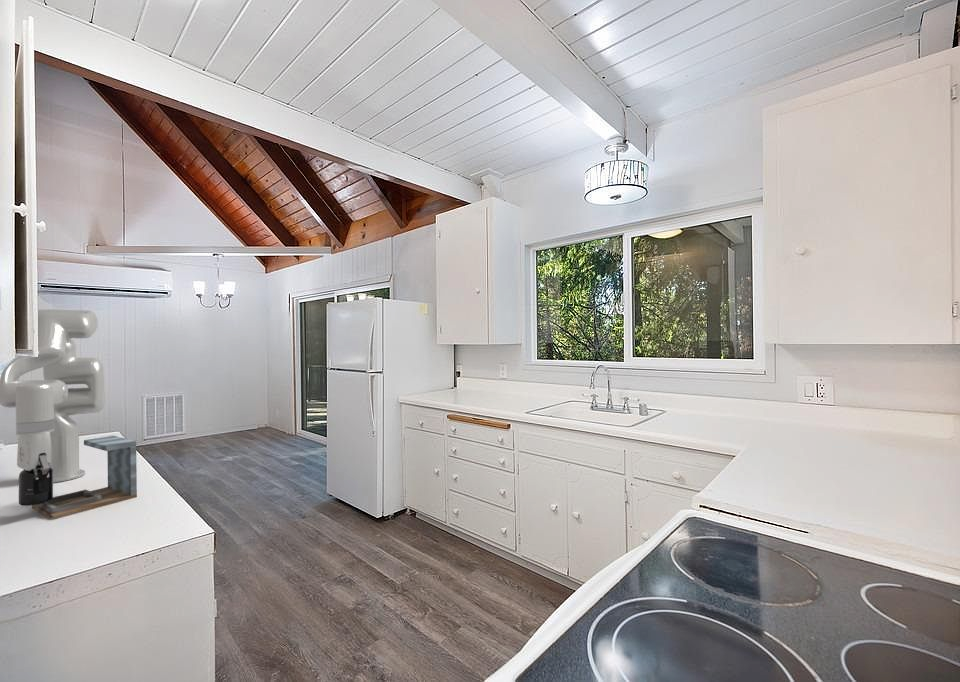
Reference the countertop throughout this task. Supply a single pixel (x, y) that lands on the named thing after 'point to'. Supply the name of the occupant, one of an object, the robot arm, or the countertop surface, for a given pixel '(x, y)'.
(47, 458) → the robot arm
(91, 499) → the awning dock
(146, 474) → the countertop surface
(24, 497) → the supplement bottle
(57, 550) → the countertop surface
